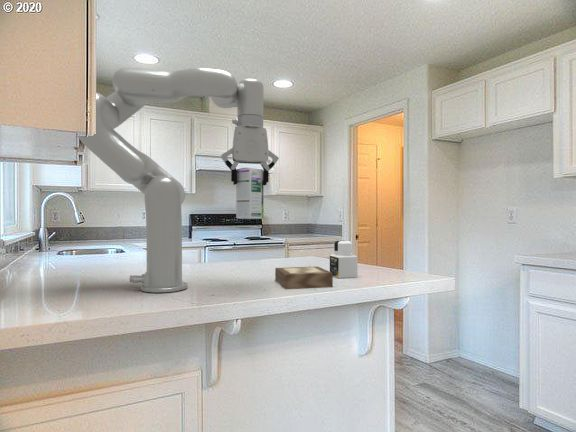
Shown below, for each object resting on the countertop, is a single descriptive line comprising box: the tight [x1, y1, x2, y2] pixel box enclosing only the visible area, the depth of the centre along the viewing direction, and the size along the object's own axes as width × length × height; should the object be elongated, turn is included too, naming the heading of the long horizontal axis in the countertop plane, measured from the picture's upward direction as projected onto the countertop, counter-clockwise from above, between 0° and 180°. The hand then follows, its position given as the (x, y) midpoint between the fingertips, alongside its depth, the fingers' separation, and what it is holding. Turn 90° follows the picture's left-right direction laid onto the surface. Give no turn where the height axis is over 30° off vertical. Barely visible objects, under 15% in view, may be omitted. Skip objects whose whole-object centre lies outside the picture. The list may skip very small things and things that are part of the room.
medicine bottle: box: [329, 240, 358, 279], centre depth 131 cm, size 7×7×12 cm
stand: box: [274, 266, 334, 290], centre depth 118 cm, size 14×14×4 cm
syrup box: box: [235, 167, 264, 220], centre depth 113 cm, size 6×6×14 cm
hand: (249, 184), depth 113 cm, fingers closed on syrup box, 8 cm apart
